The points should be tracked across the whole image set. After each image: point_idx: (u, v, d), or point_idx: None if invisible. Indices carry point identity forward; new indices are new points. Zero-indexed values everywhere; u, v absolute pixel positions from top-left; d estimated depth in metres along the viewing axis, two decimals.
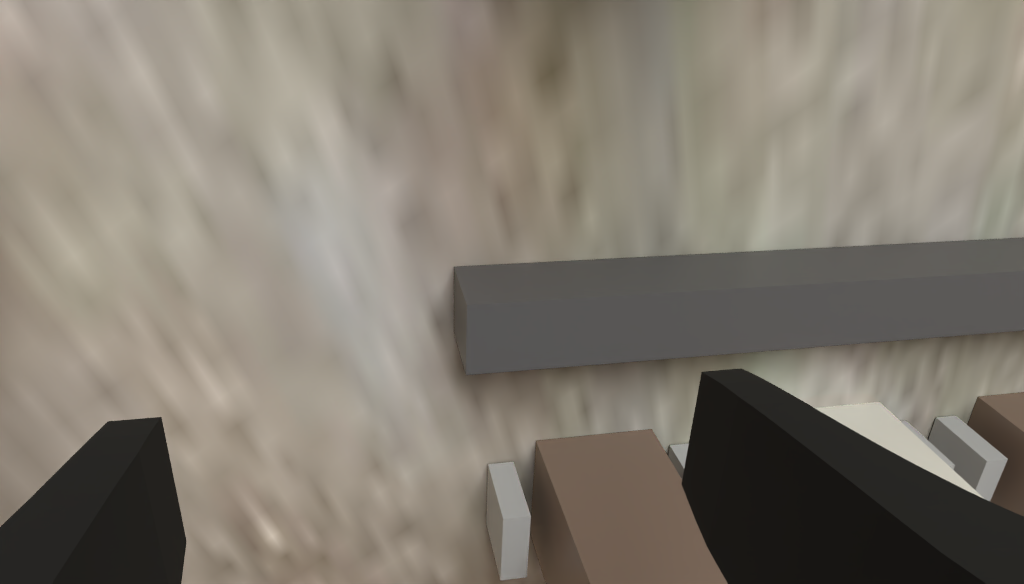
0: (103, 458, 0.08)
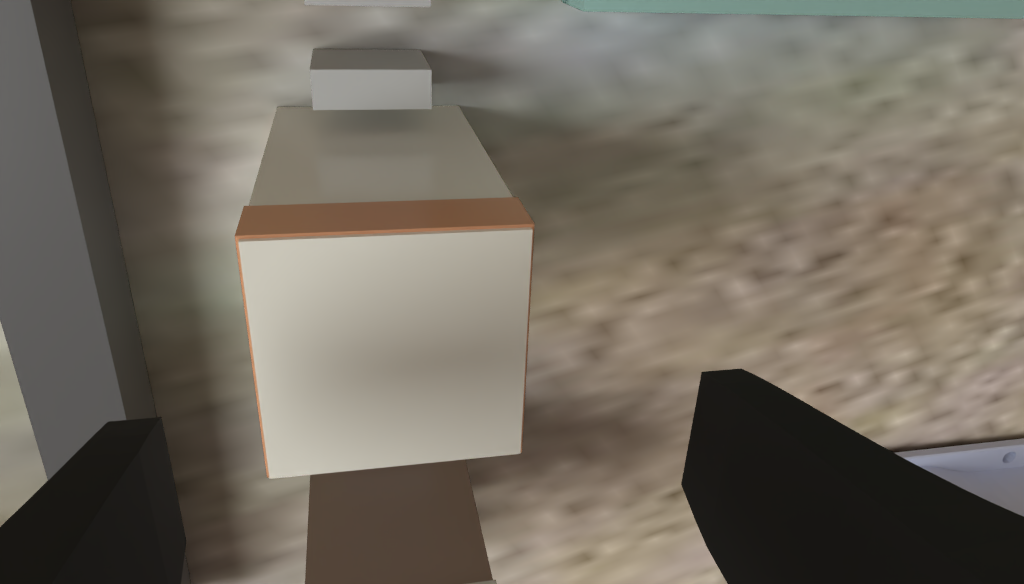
0: (103, 458, 0.08)
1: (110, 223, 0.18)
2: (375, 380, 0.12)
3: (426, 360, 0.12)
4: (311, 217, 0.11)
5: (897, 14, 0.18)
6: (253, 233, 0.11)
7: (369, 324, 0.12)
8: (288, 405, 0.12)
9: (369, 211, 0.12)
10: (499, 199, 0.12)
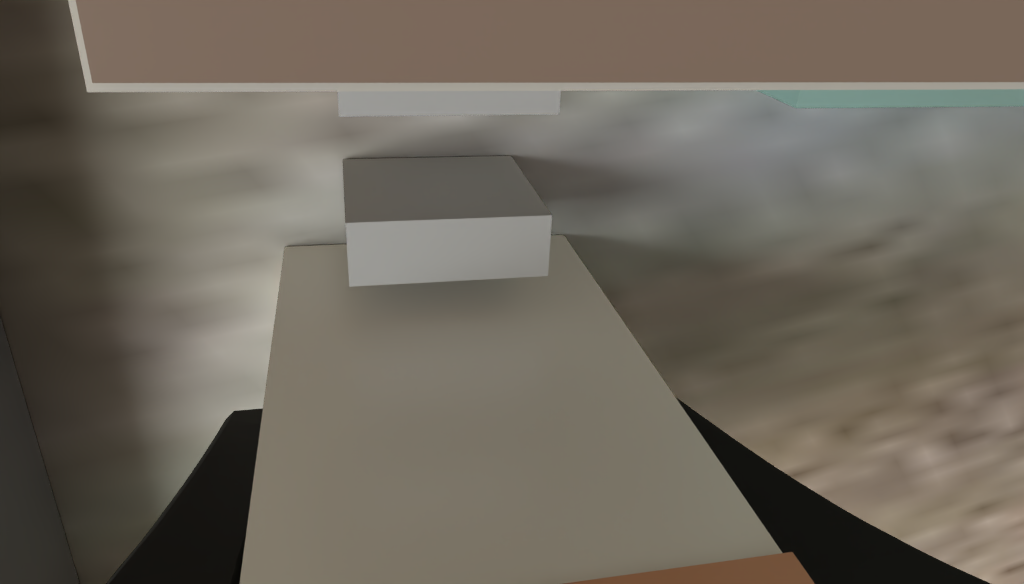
0: (245, 445, 0.08)
1: (18, 432, 0.11)
2: None
3: None
4: None
5: None
6: None
7: None
8: None
9: None
10: (758, 562, 0.06)
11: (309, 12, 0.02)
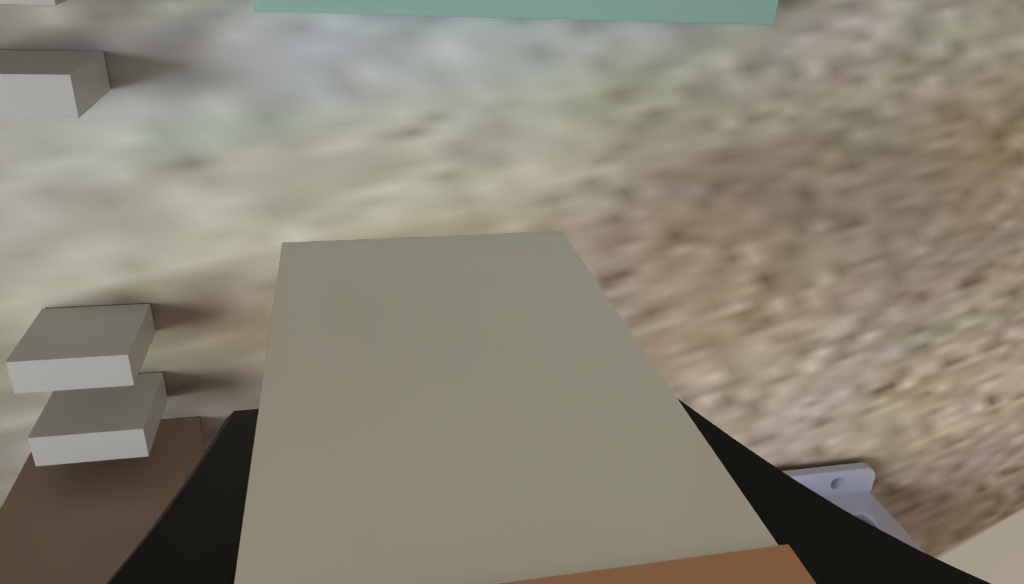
0: (245, 445, 0.08)
1: None
2: None
3: None
4: None
5: (627, 18, 0.16)
6: None
7: None
8: None
9: None
10: (753, 554, 0.06)
11: None
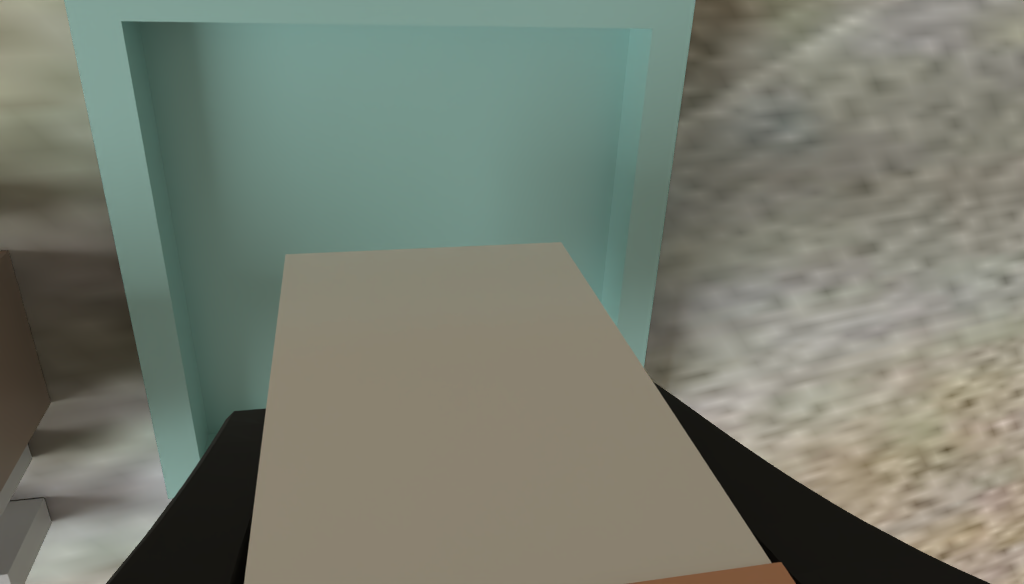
0: (245, 445, 0.08)
1: None
2: None
3: None
4: None
5: None
6: None
7: None
8: None
9: None
10: (747, 572, 0.06)
11: None
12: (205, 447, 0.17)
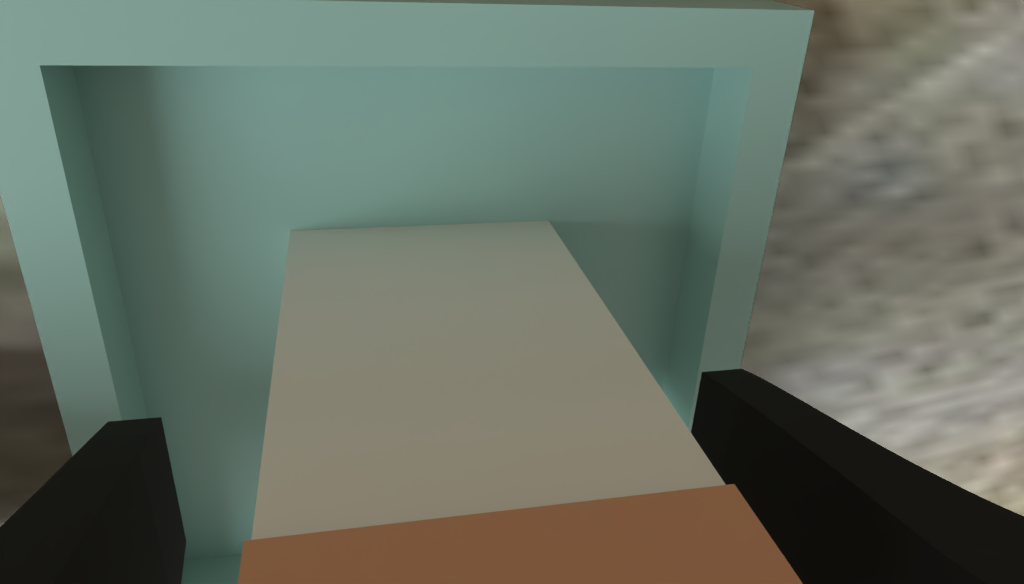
0: (104, 458, 0.08)
1: None
2: None
3: None
4: (376, 583, 0.06)
5: None
6: None
7: None
8: None
9: (479, 545, 0.06)
10: (703, 491, 0.07)
11: None
12: None
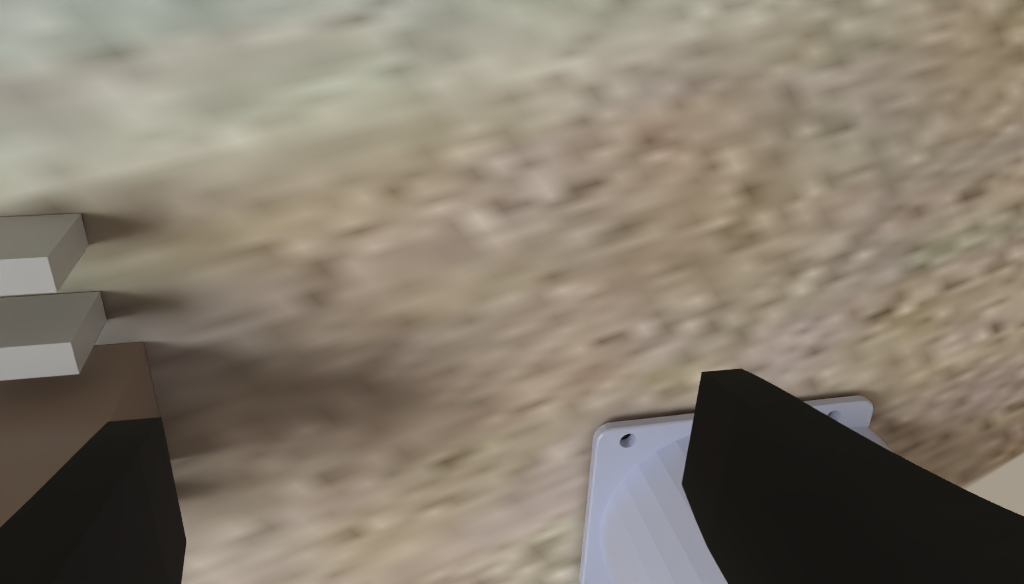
0: (103, 458, 0.08)
1: None
2: None
3: None
4: None
5: None
6: None
7: None
8: None
9: None
10: None
11: None
12: None
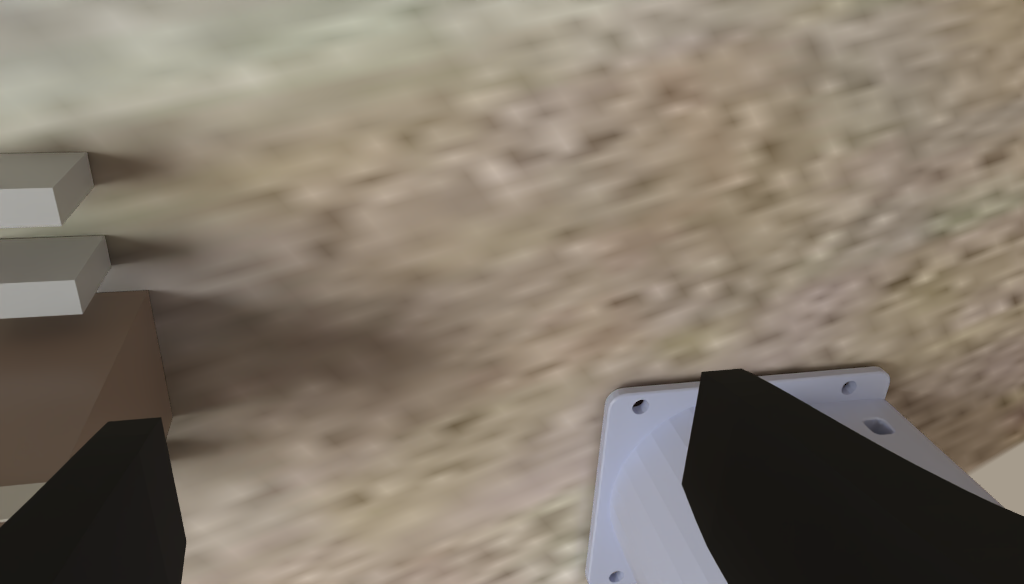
0: (103, 458, 0.08)
1: None
2: None
3: None
4: None
5: None
6: None
7: None
8: None
9: None
10: None
11: None
12: None
